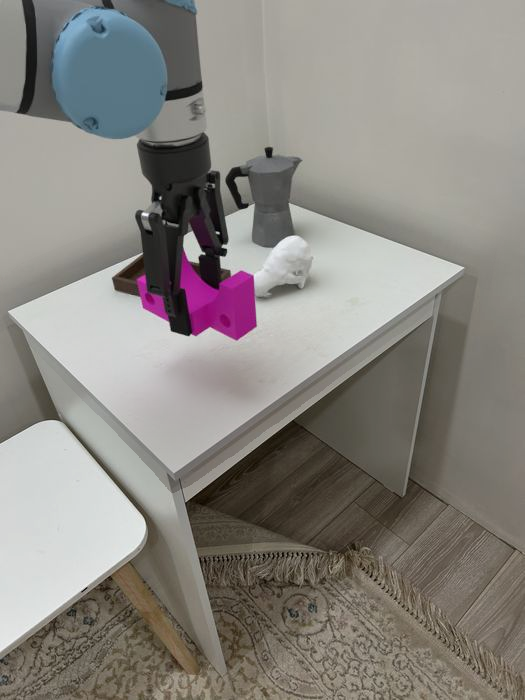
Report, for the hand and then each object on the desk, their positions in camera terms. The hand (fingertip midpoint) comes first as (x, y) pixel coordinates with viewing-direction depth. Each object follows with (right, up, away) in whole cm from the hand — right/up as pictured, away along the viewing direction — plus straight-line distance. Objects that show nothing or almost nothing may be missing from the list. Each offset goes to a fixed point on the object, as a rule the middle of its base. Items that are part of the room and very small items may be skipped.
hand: (198, 315), depth 71 cm
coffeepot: (+10, +18, +39) cm, 44 cm away
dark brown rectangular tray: (-8, +7, +27) cm, 29 cm away
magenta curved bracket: (0, 0, 0) cm, 1 cm away
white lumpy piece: (+11, +6, +25) cm, 28 cm away
